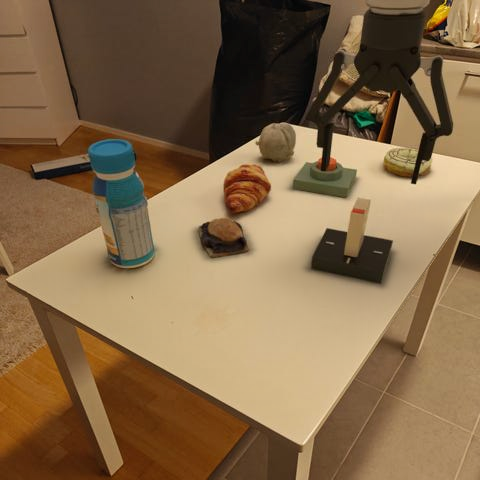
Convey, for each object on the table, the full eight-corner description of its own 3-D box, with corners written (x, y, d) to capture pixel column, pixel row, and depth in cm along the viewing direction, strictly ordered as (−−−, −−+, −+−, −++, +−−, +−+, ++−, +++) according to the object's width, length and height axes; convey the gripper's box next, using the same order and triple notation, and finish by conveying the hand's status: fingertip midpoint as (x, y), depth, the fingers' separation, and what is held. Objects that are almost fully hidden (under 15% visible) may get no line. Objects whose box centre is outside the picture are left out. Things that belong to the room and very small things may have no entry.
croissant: (246, 188, 110) (230, 158, 106) (283, 172, 105) (268, 140, 102) (221, 231, 95) (202, 198, 91) (264, 215, 90) (246, 179, 86)
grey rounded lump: (292, 166, 117) (309, 129, 110) (277, 173, 111) (294, 134, 104) (262, 147, 119) (277, 110, 112) (246, 153, 113) (260, 114, 106)
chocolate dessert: (195, 229, 90) (194, 212, 88) (237, 223, 91) (237, 206, 89) (206, 259, 82) (205, 241, 80) (252, 251, 84) (252, 234, 81)
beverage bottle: (143, 273, 79) (121, 160, 66) (99, 266, 81) (70, 154, 68) (163, 247, 85) (147, 139, 72) (122, 241, 87) (99, 134, 74)
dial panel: (390, 252, 83) (393, 239, 81) (381, 283, 76) (384, 270, 74) (325, 239, 86) (326, 227, 85) (310, 268, 80) (312, 255, 78)
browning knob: (350, 238, 82) (357, 196, 76) (363, 241, 81) (371, 198, 76) (343, 255, 78) (350, 211, 73) (356, 257, 77) (364, 213, 72)
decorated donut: (426, 182, 104) (430, 166, 101) (378, 174, 107) (381, 158, 105) (432, 164, 111) (436, 148, 108) (386, 157, 114) (390, 142, 112)
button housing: (355, 178, 106) (358, 161, 103) (346, 197, 99) (348, 180, 96) (305, 170, 109) (306, 154, 107) (292, 188, 102) (293, 171, 100)
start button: (337, 166, 102) (338, 158, 101) (333, 173, 100) (334, 165, 98) (319, 163, 104) (320, 155, 102) (315, 170, 101) (316, 162, 100)
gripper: (289, 10, 58) (283, 172, 72) (507, 17, 50) (453, 197, 64) (306, 1, 63) (297, 154, 77) (506, 6, 55) (456, 175, 70)
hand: (368, 174), depth 71 cm, fingers open, 13 cm apart
